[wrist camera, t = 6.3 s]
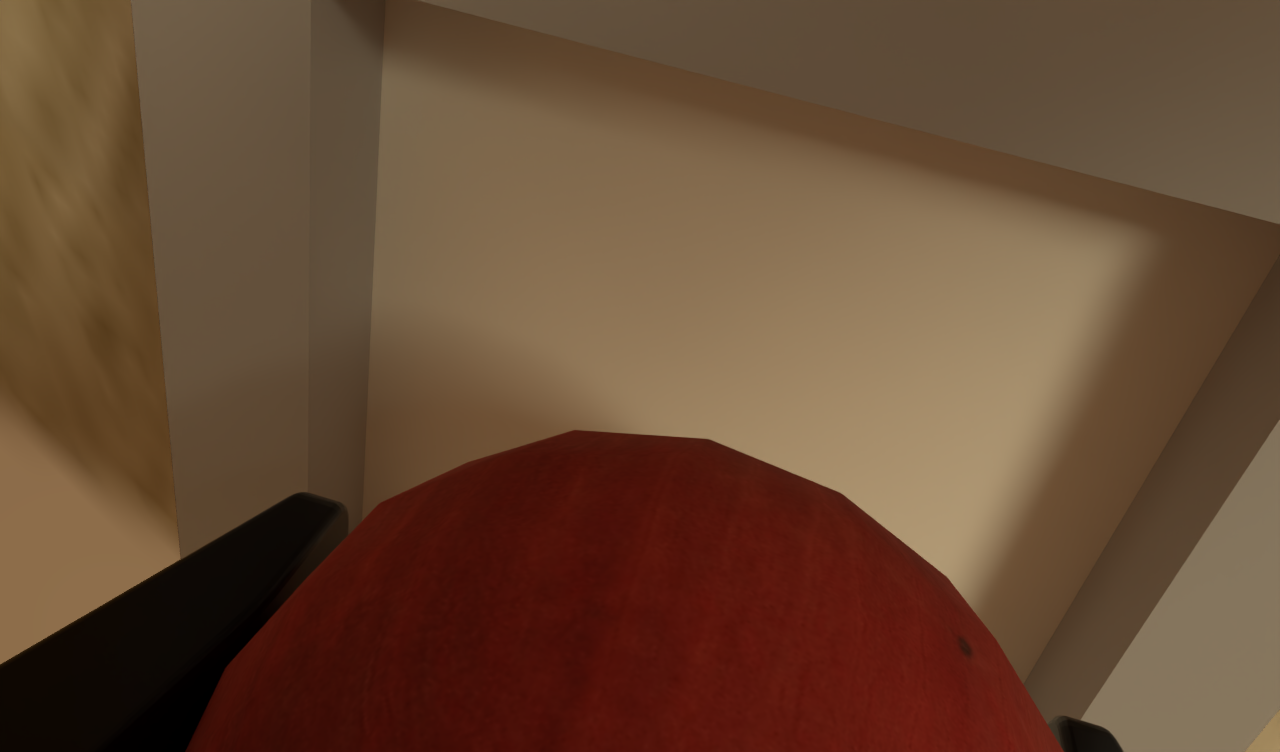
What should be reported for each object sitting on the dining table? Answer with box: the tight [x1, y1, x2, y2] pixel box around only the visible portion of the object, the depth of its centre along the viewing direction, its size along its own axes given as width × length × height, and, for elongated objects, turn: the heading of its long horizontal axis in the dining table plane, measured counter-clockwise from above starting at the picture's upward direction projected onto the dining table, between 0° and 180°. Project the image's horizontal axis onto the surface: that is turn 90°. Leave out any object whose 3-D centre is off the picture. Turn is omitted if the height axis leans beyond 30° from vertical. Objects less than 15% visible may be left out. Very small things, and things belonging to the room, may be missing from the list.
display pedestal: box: [131, 0, 1280, 752], centre depth 13 cm, size 12×12×6 cm
